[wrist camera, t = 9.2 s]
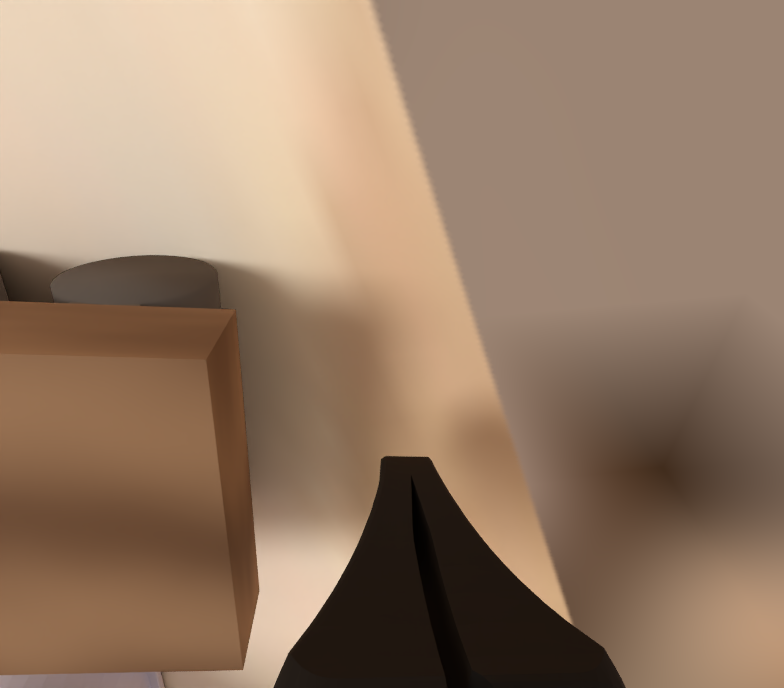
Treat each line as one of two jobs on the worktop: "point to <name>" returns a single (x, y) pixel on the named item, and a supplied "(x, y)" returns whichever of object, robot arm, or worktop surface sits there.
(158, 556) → the slab
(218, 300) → the roller bed
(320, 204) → the worktop surface
